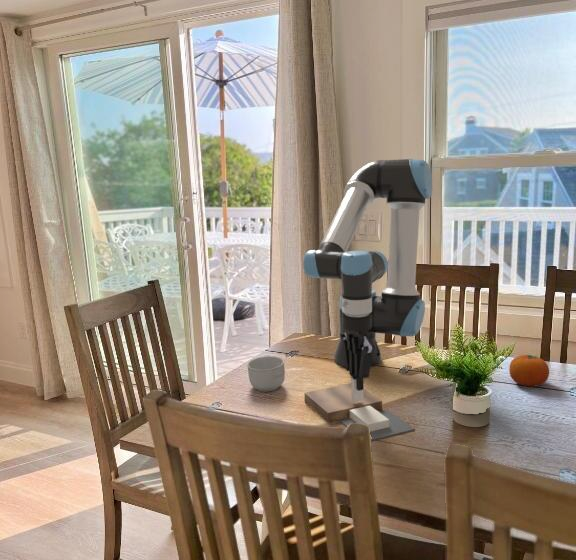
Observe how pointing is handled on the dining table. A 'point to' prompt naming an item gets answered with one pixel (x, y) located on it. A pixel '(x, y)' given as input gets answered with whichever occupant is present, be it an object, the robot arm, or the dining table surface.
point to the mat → (394, 427)
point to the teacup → (266, 373)
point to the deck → (339, 402)
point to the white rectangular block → (369, 418)
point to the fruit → (529, 370)
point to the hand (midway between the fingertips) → (357, 399)
